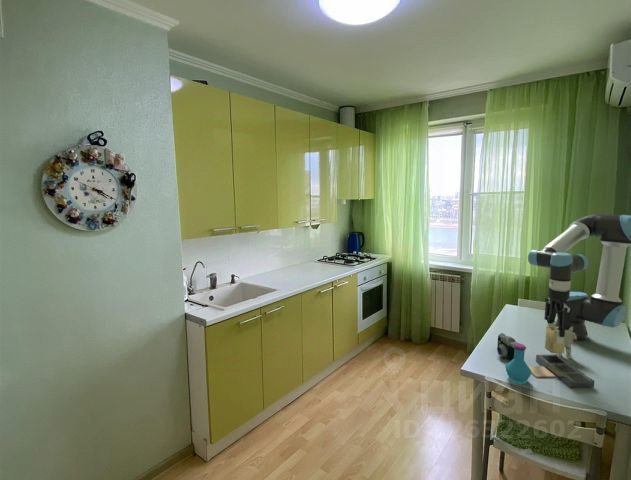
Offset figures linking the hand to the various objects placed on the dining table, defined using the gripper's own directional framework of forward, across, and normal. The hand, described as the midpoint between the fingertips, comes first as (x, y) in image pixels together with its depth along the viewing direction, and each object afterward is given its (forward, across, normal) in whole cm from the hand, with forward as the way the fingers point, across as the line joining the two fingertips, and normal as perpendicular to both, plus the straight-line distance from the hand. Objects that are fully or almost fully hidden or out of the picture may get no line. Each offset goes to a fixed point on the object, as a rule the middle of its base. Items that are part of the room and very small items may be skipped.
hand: (555, 340), depth 152 cm
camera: (+12, -9, -16) cm, 22 cm away
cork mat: (+12, +6, -9) cm, 16 cm away
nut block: (+5, 0, 0) cm, 5 cm away
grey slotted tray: (+12, +7, 0) cm, 14 cm away
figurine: (+12, -8, +11) cm, 18 cm away
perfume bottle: (+12, +11, -22) cm, 27 cm away
